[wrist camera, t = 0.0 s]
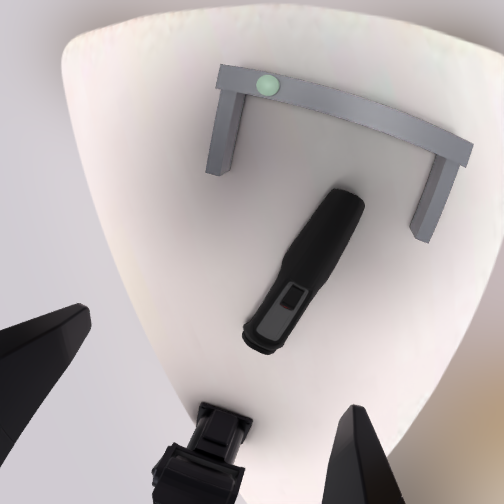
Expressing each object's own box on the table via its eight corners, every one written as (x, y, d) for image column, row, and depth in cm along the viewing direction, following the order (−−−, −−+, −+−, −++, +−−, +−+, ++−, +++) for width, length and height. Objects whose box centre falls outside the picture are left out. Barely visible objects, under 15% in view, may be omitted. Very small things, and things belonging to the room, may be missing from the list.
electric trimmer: (377, 198, 20) (384, 212, 18) (278, 346, 28) (271, 371, 25) (329, 170, 20) (328, 180, 18) (241, 327, 28) (230, 350, 25)
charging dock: (421, 231, 20) (433, 253, 17) (216, 166, 22) (196, 177, 19) (456, 138, 17) (476, 145, 14) (236, 68, 18) (218, 63, 15)
